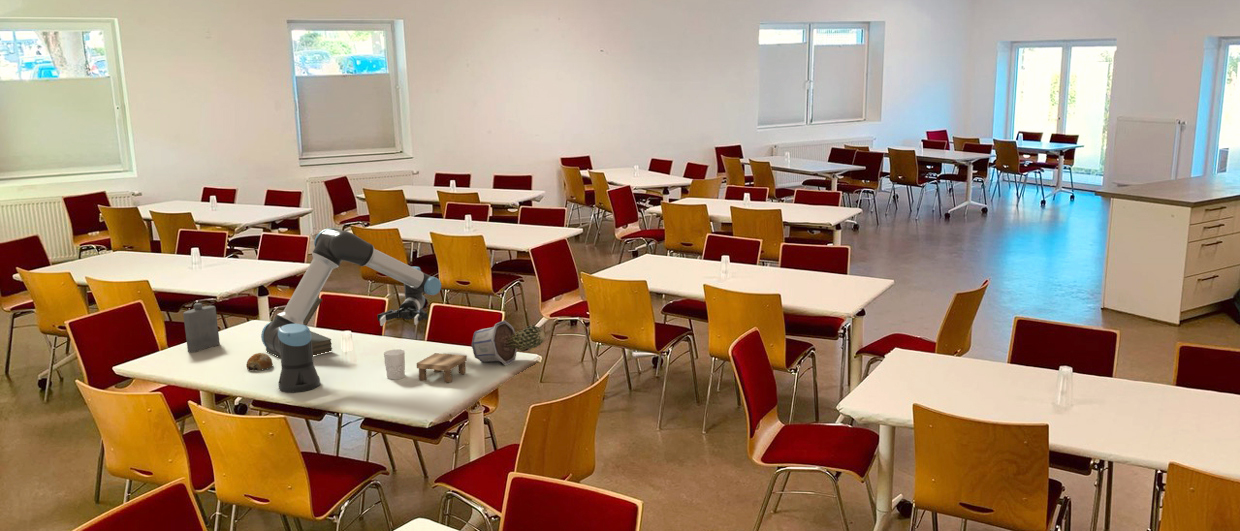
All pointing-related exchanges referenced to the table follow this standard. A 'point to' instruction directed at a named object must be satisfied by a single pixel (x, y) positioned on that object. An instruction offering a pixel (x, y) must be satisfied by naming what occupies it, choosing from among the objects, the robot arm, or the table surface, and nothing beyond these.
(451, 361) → the stool
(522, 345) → the potted plant
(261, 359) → the bread roll
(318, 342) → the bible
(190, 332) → the flask
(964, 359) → the table surface
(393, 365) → the white cup
